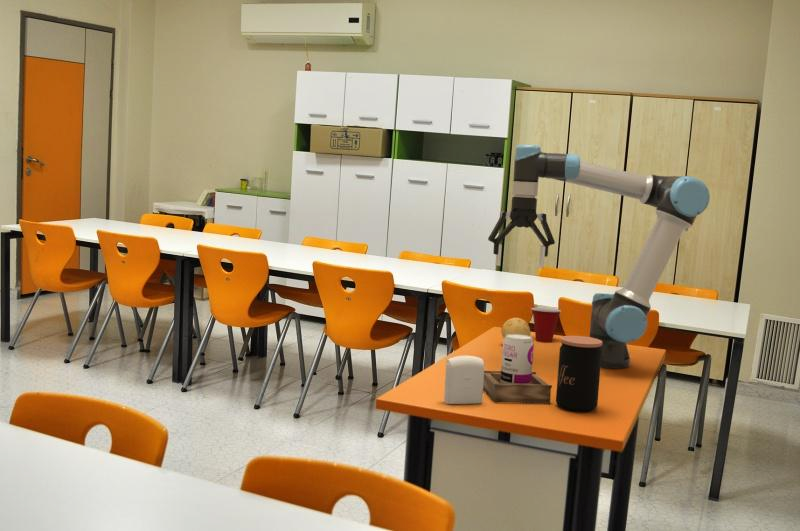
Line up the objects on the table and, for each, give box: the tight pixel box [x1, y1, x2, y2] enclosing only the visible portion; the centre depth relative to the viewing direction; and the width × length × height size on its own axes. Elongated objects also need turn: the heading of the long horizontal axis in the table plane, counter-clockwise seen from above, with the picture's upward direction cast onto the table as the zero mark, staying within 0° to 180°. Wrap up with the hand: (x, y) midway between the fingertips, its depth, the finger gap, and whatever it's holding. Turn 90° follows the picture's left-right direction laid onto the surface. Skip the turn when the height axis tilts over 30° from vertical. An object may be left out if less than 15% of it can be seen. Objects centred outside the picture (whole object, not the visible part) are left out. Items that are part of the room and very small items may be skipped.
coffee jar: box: [555, 335, 603, 414], centre depth 224 cm, size 11×11×18 cm
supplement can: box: [500, 334, 535, 384], centre depth 233 cm, size 8×8×15 cm
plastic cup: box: [530, 307, 562, 343], centre depth 313 cm, size 11×11×12 cm
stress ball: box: [501, 317, 531, 340], centre depth 301 cm, size 10×10×10 cm
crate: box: [483, 370, 553, 405], centre depth 233 cm, size 15×15×5 cm
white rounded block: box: [443, 355, 485, 405], centre depth 223 cm, size 10×4×12 cm, turn 105°
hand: (519, 266), depth 263 cm, fingers open, 13 cm apart
